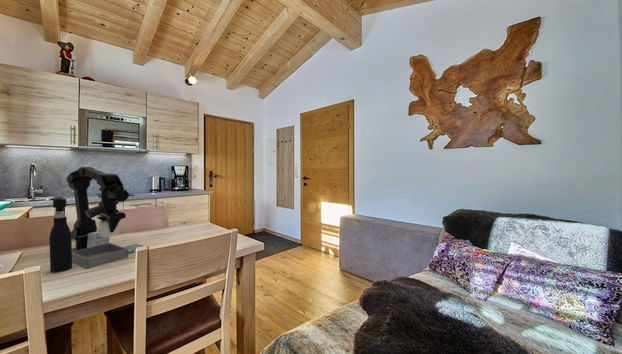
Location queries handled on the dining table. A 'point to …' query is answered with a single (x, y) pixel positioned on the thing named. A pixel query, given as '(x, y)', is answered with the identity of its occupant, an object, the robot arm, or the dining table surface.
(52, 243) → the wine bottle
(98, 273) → the dining table surface
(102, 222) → the block
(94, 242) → the medicine box
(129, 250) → the mat
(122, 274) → the dining table surface
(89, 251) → the grey tray
